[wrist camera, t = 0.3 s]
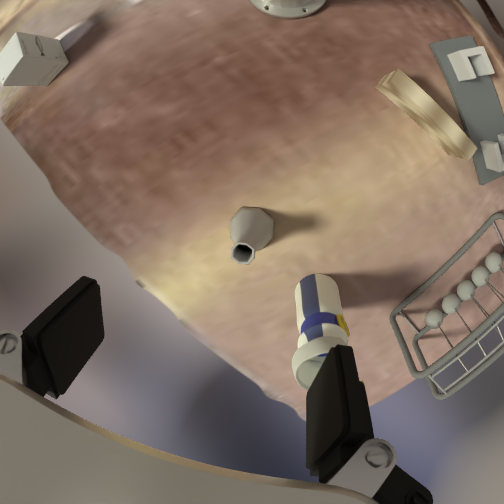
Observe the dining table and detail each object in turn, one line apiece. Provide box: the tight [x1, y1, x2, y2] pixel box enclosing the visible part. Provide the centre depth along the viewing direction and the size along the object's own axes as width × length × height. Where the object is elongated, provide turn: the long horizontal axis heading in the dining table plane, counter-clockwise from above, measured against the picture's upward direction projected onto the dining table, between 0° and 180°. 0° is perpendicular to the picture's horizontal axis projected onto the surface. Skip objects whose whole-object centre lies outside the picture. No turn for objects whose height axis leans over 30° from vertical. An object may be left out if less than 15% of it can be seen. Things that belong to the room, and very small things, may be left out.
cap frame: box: [429, 35, 504, 185], centre depth 31 cm, size 25×10×5 cm, turn 27°
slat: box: [375, 69, 477, 160], centre depth 33 cm, size 16×2×7 cm, turn 57°
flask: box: [230, 207, 274, 265], centre depth 43 cm, size 7×7×10 cm
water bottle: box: [292, 274, 364, 390], centre depth 39 cm, size 8×9×25 cm
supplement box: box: [0, 32, 69, 86], centre depth 32 cm, size 7×7×13 cm
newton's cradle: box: [390, 213, 504, 400], centre depth 38 cm, size 30×10×18 cm, turn 138°
